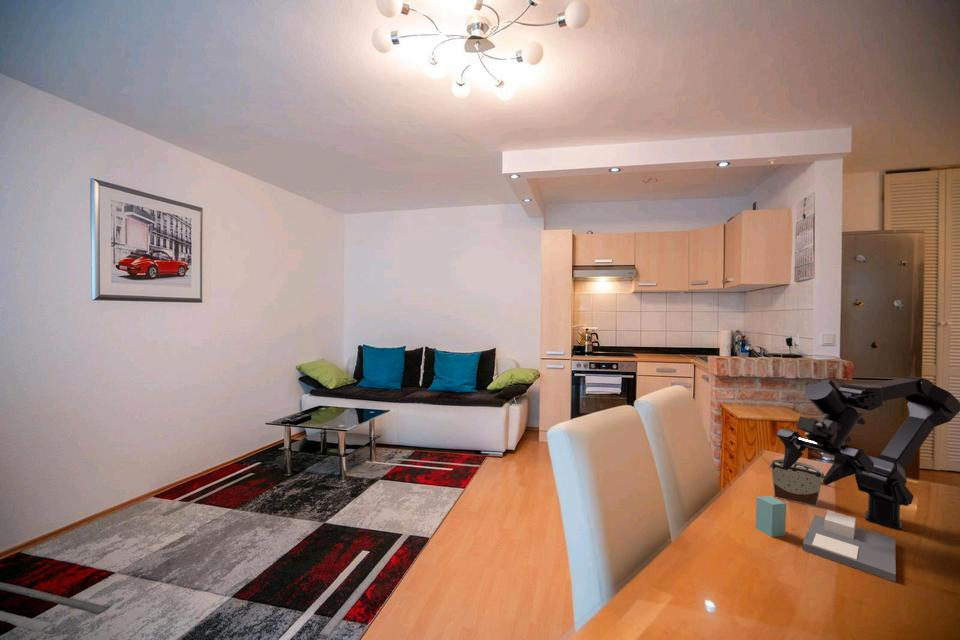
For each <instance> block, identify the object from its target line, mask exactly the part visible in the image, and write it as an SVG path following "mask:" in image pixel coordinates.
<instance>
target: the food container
mask: <svg viewBox="0 0 960 640" xmlns="http://www.w3.org/2000/svg"><path fill="white" fill-rule="evenodd" d="M783 463H784V460H782V459H781V458H780V459H778V458H777V459H772V461H771V462H770V464H769V470H771V473H772V474H771V475H772V484H773V498H775V497H778V498H777V499H779V498H782V499H781V500H784V499H786V500H785V501H788V500H790V501H789V502H793V501H795V502H794V503H797V502H800V503H799V504H802V503H804V504H803V505H807V504H808V505H807V506H811V505H812V506H811V507H816V508H817V507H818V504H819V503H818V502H819V497H820V490H821V486H822V485H821V482H822V481H823V478H824V475H825V474H824V472H823V469H821V468H820V467H817V466H815V465H812V464H810V463H809V464H808V463H805V462H802V461H798V460H797V461H796V462H795V463H794V464H793V465H792V466H791V467H790V468H789V469H788V470H785V469H784V468H783ZM822 477H823V478H822Z"/></svg>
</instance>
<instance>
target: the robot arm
mask: <svg viewBox="0 0 960 640" xmlns="http://www.w3.org/2000/svg"><path fill="white" fill-rule="evenodd" d="M804 397H806V398H807V399H808V400H809V402H810V403H811V404H812V405H813V406H814V407H815V408H816V409H817V410H818V411H819V412H820V413H821V414H824V417H823V418H822V419H821V420H820V419H814V418H810V417H805V416H802V415H801V416H799V418H798V421H797V425H796V427H795V429H796V430H801V431H802V432H804V435H805V437H806V438H809V439H805V438H803V437H802V436H801V435H800V433H799V432H798V431H795V430H792V429H788V428H780V429H779V430H778V432H777V433H776V437H777V438H778V439H779V440H780V441H781V443H782V445H784V455H783V459H784V463H783V468H784V469H785V470H788V469H789V468H790V467H791V466H792V465H793V464H794V463H795V462H796V461H797V462H798V460H799V459H800V458H801V457H803V455H804V453H803V452H804V451H806V450H807V449H810V450H814V451H816V452H820V453H823V454H827V455H830V456H834V459H833V463H832V465H831V466H830V467H829V469H828V471H827V473H826V474H824V475H825V477H824V479H823V478H822V483H823V485H825V486H829V485H830V484H832V483H835V482H838V481H839V480H842V479H843V478H847V477H849V476H852V475H854V477H855V481H856V484H857V489H858V491H859V492H863V493H865V494H868V495H867V497H868V498H867V499H868V500H867V510H866V511H865V517H864V519H865V520H866V521H868V522H873V523H876V524H879V525H883V526H886V527H891V528H894V529H897V530H900V531H901V530H903V521H902V519H900V517H901V515H900V514H901V506H904V507H909V505H912V503H913V500H914V495H913V493H912V492H911V491H910V489H909V488H908V487H907V486H906V484H907V482H908V481H907V476H906V472H905V469H906V468H907V466H908V465H909V463H910V462H911V460H913V458H914V456H915V455H916V453H917V452H918V451H919V450H920V448H921V446H922V445H923V444H924V443H925V442H926V440H927V439H928V437H929V435H930V434H931V432H932V431H933V430H934V428H936V427H938V426H941V425H944V424H947V423H950V422H951V421H952V420H953V419H955V417H956V416H957V415H958V414H959V413H960V401H959V400H958V398H956V397H955V396H954V394H952V393H951V392H949V391H947V390H946V389H943V388H941V387H939V386H937V385H935V384H934V383H933V382H932V381H931V380H930V379H927V378H925V377H915V376H907V375H906V376H901V377H899V378H894V379H891V380H885V381H879V382H876V383H871V384H864V383H843V384H840V385H839V386H838V387H837V386H836V384H835V383H834V381H833V380H831V379H825V378H824V379H822V380H821V381H819V382H815V383H812V384H811V385H809V386H807V387H805V390H804ZM901 398H903V400H905V401H906V402H907V403H906V407H907V411H908V416H907V418H906V419H905V420H904V422H903V423H902V424H901V426H900V427H899V428H898V430H897V431H896V432H895V434H894V435H893V437H892V438H891V439H890V440H889V442H888V444H887V445H886V446H885V447H884V448H883V451H881V453H880V454H879V455H877V456H872V455H868V453H866V452H865V451H864V449H863V448H859V447H855V446H851V445H848V444H845V442H846V443H850V442H851V441H852V438H851V437H850V435H851V433H852V432H853V430H854V429H855V428H856V426H857V424H858V425H862V426H863V425H866V419H864V416H863V413H861V412H859V411H858V410H856V409H859V410H865V411H869V412H871V411H874V410H877V409H879V408H881V407H883V405H884V402H887V401H892V400H895V399H901Z"/></svg>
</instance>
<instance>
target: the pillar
mask: <svg viewBox="0 0 960 640" xmlns="http://www.w3.org/2000/svg"><path fill="white" fill-rule="evenodd" d="M755 510H756V511H755V529H756V530H758V531H760V532H762V533H763V534H765V535H767V536H769V537H770V538H774V537H784V536H786V523H787V522H786V518H787V503H786V502H785V501H784V502H783V501H782V500H781V499H779V498H775V497H774V496H771V495H763V496H756V509H755Z"/></svg>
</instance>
